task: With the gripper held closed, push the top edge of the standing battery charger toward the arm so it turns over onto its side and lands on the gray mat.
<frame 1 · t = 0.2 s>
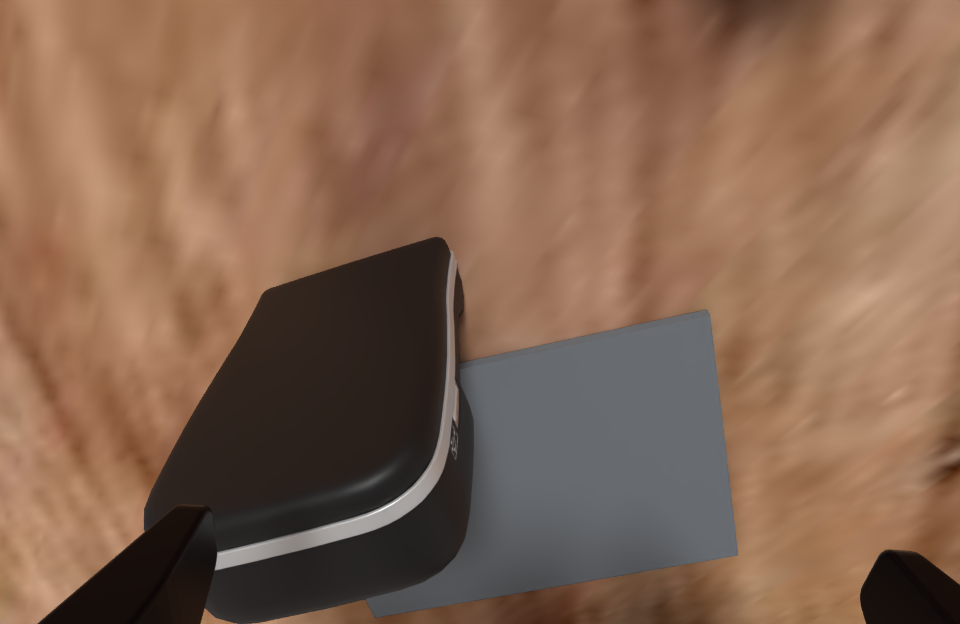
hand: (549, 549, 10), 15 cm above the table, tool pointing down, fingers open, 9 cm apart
gray mat: (518, 480, 29), on the table
battery charger: (374, 302, 25), on the table
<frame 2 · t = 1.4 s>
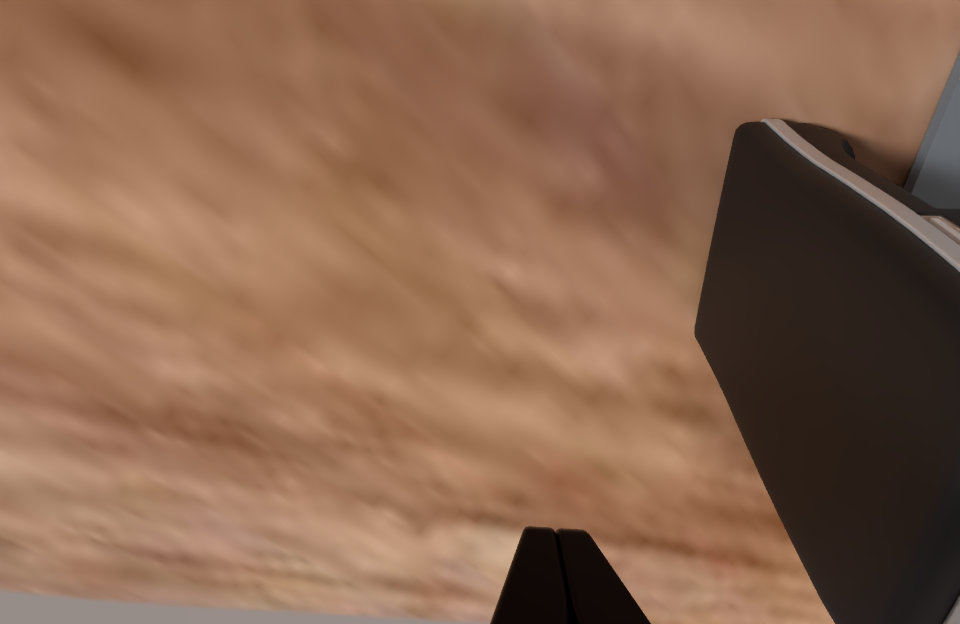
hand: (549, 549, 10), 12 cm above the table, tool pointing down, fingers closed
battery charger: (773, 232, 20), on the table
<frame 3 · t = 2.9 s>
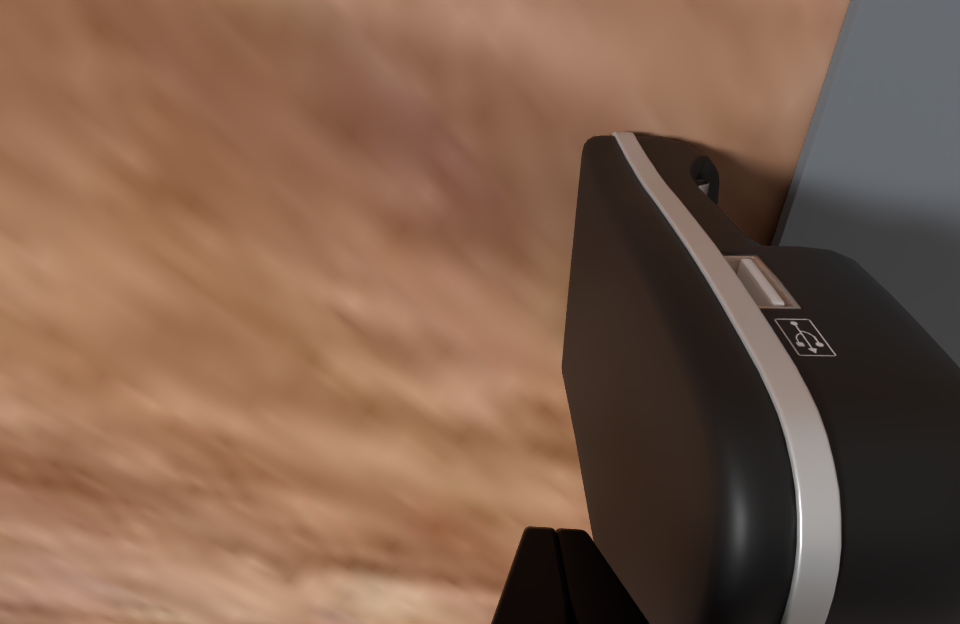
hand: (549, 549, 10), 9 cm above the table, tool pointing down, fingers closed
battery charger: (642, 257, 18), on the table, touching gripper
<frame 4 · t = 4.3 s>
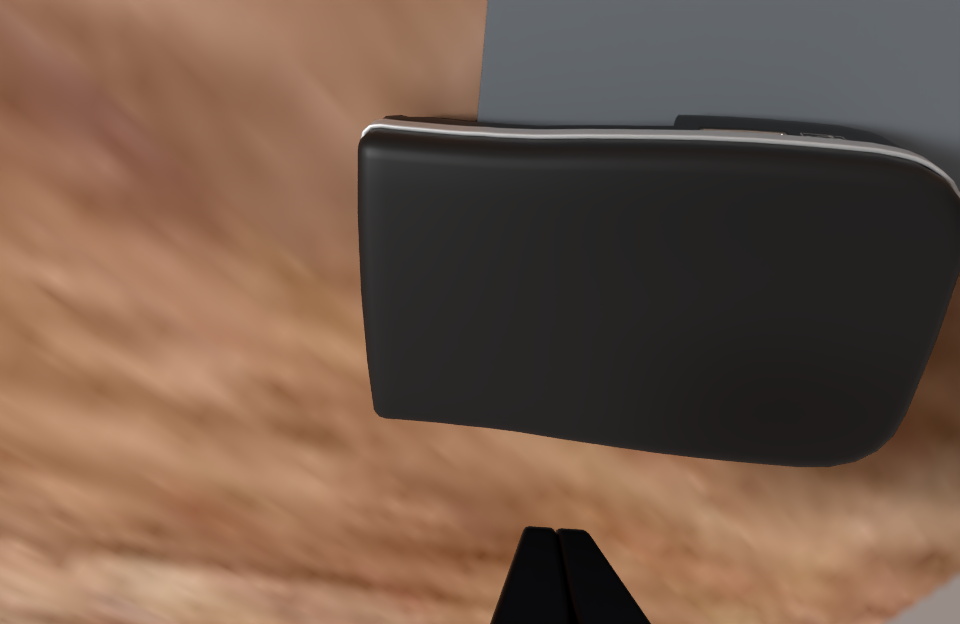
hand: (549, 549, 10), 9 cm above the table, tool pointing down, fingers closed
gray mat: (737, 147, 16), on the table
battery charger: (369, 256, 16), point 1 cm above the table, touching gray mat
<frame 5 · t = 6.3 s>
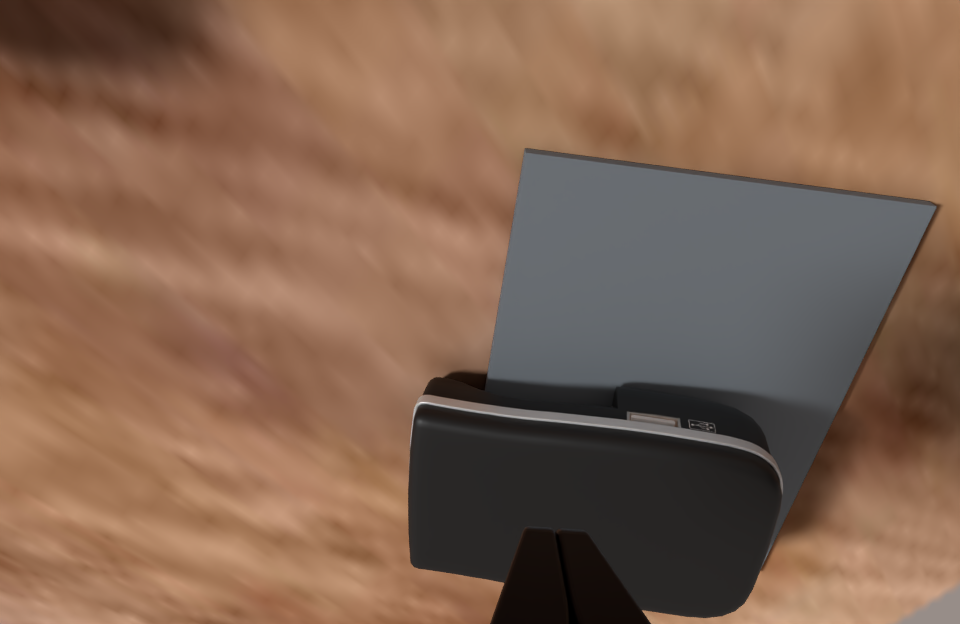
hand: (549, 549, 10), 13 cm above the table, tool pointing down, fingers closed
gray mat: (659, 396, 25), on the table
battery charger: (411, 458, 25), point 1 cm above the table, touching gray mat
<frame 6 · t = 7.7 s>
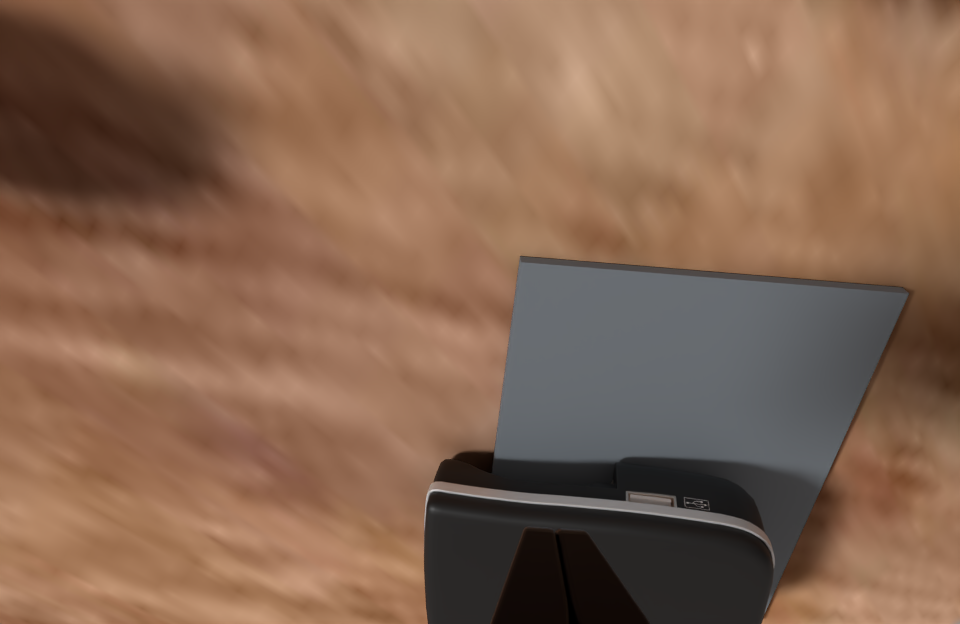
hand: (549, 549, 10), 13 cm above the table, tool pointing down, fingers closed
gray mat: (657, 466, 26), on the table
battery charger: (426, 534, 26), point 1 cm above the table, touching gray mat
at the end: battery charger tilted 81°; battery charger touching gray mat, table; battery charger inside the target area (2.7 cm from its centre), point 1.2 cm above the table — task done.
